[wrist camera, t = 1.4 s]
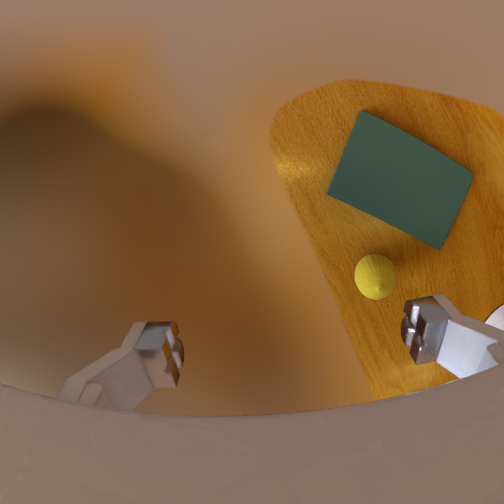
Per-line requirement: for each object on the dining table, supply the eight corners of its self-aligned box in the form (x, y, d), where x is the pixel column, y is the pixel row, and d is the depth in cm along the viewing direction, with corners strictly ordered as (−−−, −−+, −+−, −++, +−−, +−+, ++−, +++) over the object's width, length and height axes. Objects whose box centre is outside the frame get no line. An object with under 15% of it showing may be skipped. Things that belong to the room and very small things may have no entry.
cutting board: (469, 173, 33) (474, 174, 32) (436, 247, 38) (439, 250, 36) (360, 111, 34) (361, 109, 33) (326, 192, 39) (326, 194, 38)
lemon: (390, 245, 39) (404, 266, 32) (387, 282, 41) (399, 309, 34) (352, 246, 41) (359, 267, 33) (351, 282, 42) (356, 310, 35)
